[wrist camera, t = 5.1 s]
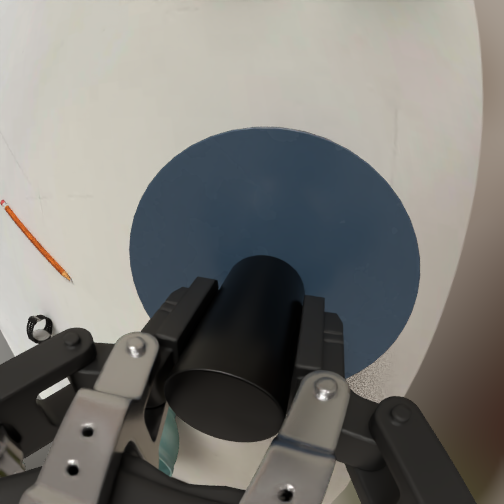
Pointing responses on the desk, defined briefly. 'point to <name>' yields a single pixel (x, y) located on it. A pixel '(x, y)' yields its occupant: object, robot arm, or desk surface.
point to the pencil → (34, 241)
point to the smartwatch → (39, 334)
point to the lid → (270, 266)
